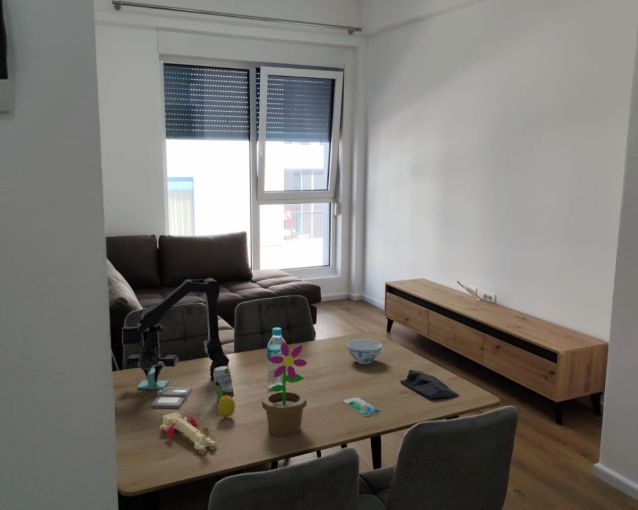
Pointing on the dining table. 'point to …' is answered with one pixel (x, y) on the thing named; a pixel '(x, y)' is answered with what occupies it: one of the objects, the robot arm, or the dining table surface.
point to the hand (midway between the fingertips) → (153, 382)
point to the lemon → (226, 406)
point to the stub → (152, 382)
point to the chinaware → (364, 350)
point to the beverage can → (223, 382)
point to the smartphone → (361, 406)
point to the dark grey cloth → (427, 385)
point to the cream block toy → (188, 431)
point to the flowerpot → (285, 396)
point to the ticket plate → (170, 397)
